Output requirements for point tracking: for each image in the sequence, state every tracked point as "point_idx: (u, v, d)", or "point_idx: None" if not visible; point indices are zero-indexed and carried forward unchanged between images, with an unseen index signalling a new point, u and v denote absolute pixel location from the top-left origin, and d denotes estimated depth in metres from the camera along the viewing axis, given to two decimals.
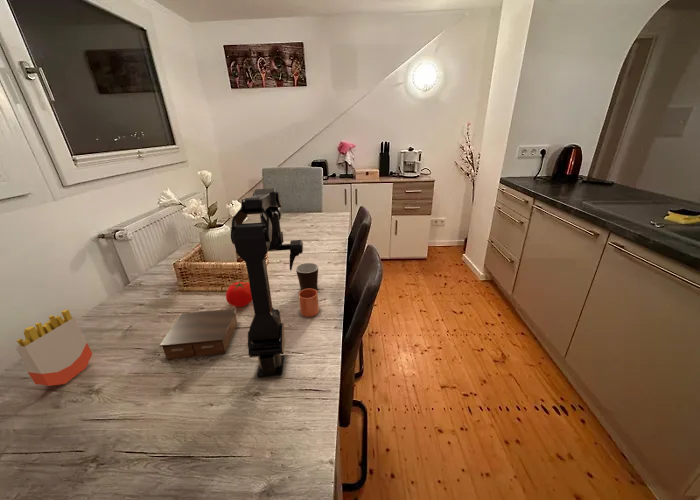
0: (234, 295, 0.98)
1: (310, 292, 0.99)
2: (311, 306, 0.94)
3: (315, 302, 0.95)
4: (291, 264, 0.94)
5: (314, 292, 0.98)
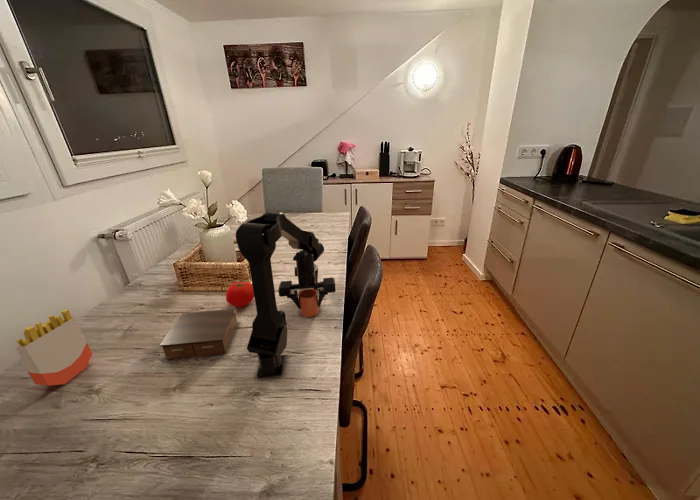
0: (234, 295, 0.98)
1: (310, 292, 0.99)
2: (311, 306, 0.94)
3: (315, 302, 0.95)
4: (320, 302, 0.96)
5: (314, 292, 0.98)
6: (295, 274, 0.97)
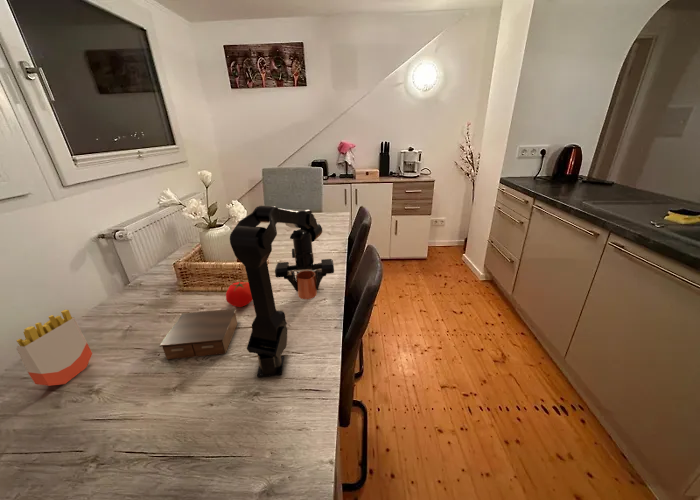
0: (234, 295, 0.98)
1: (308, 274, 0.96)
2: (308, 288, 0.91)
3: (313, 284, 0.92)
4: (318, 284, 0.93)
5: (312, 274, 0.95)
6: (292, 255, 0.94)
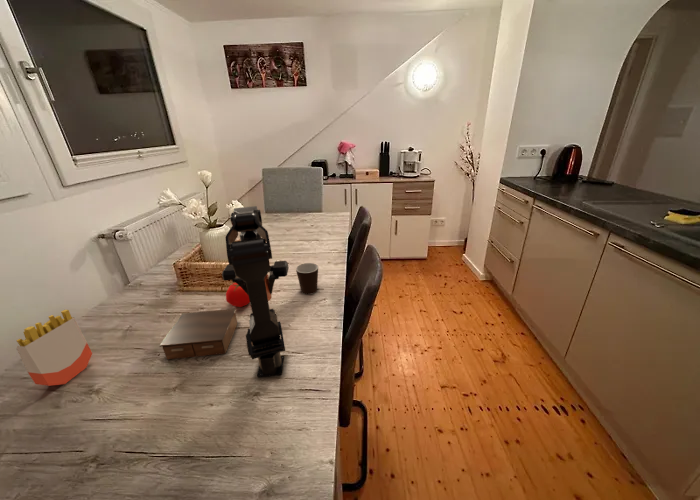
0: (234, 295, 0.98)
1: None
2: None
3: None
4: (271, 287, 0.86)
5: (266, 277, 0.89)
6: None
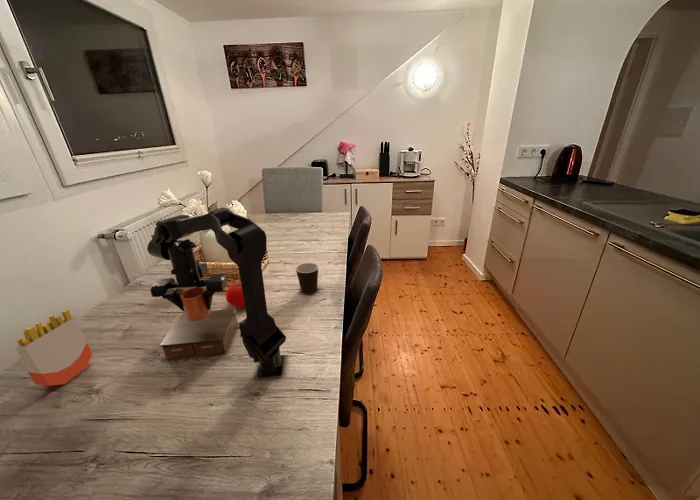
0: (234, 295, 0.98)
1: (200, 291, 0.83)
2: (194, 308, 0.79)
3: (200, 303, 0.79)
4: (207, 303, 0.80)
5: (203, 291, 0.82)
6: None
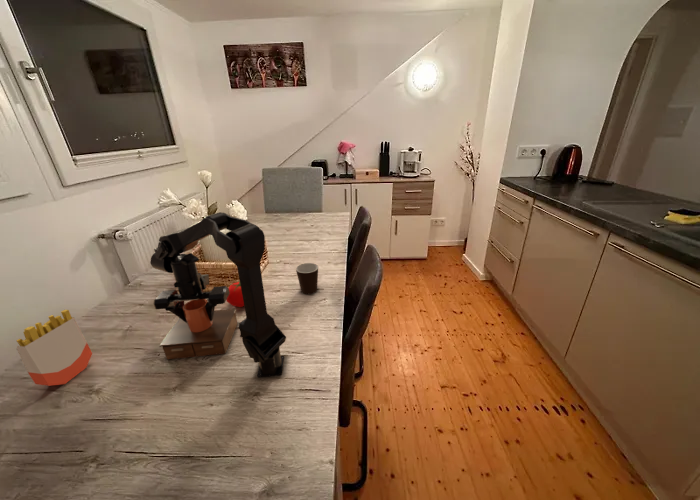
0: (234, 295, 0.98)
1: (202, 303, 0.84)
2: (197, 320, 0.80)
3: (202, 315, 0.81)
4: (209, 315, 0.81)
5: (205, 303, 0.84)
6: None
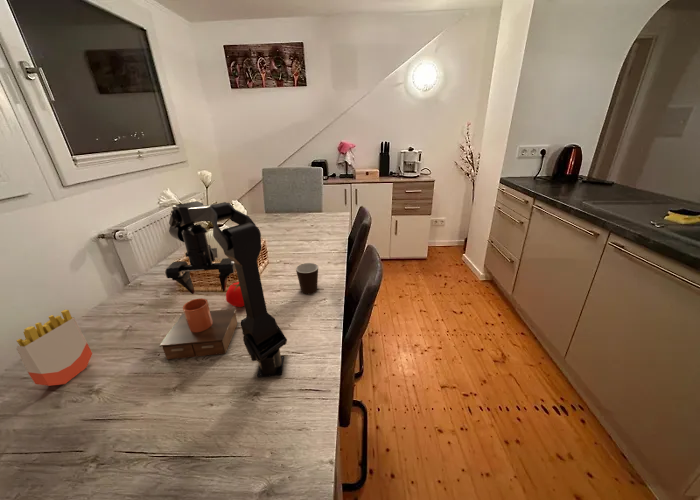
0: (234, 295, 0.98)
1: (202, 303, 0.84)
2: (197, 320, 0.80)
3: (202, 315, 0.81)
4: (223, 285, 0.85)
5: (205, 303, 0.84)
6: None
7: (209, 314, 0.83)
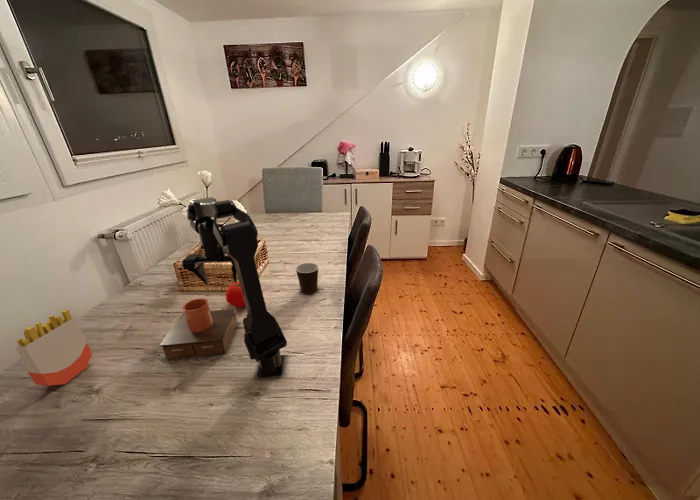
0: (234, 295, 0.98)
1: (202, 303, 0.84)
2: (197, 320, 0.80)
3: (202, 315, 0.81)
4: (235, 276, 0.91)
5: (205, 303, 0.84)
6: None
7: (209, 314, 0.83)
